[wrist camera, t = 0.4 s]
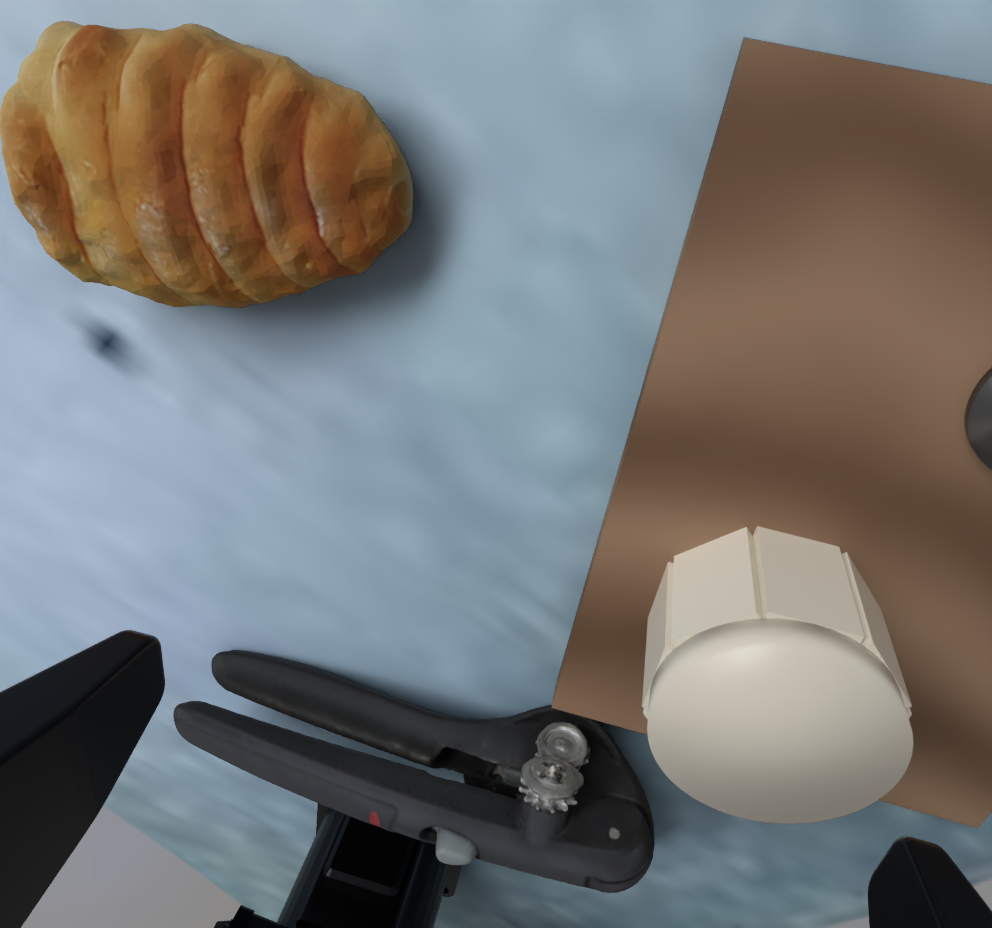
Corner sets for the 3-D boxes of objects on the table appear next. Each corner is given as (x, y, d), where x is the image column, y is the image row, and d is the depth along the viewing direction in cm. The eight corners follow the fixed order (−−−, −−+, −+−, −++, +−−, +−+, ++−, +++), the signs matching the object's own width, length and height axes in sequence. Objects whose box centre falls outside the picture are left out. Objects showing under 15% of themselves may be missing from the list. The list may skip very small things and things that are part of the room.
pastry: (416, 24, 18) (356, 29, 15) (428, 305, 21) (382, 360, 18) (58, 19, 19) (-67, 24, 16) (124, 282, 23) (32, 328, 20)
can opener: (685, 707, 27) (684, 858, 22) (638, 825, 30) (628, 976, 26) (209, 583, 29) (115, 697, 24) (220, 708, 32) (139, 829, 28)
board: (966, 795, 26) (978, 828, 25) (556, 681, 27) (551, 707, 26) (1463, 174, 15) (1519, 186, 14) (743, 37, 16) (747, 39, 15)
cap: (824, 714, 24) (850, 849, 20) (632, 661, 24) (621, 783, 20) (911, 564, 20) (962, 692, 17) (687, 508, 21) (686, 619, 17)
